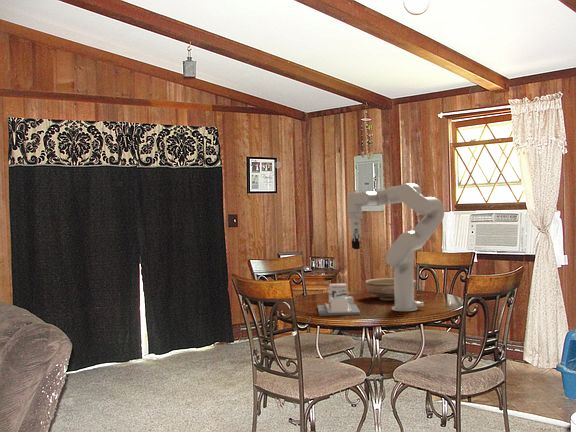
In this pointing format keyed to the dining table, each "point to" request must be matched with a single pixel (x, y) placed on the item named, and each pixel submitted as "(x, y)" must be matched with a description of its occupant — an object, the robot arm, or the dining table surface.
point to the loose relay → (350, 300)
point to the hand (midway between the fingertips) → (355, 248)
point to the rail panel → (324, 310)
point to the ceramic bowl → (382, 288)
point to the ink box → (337, 291)
